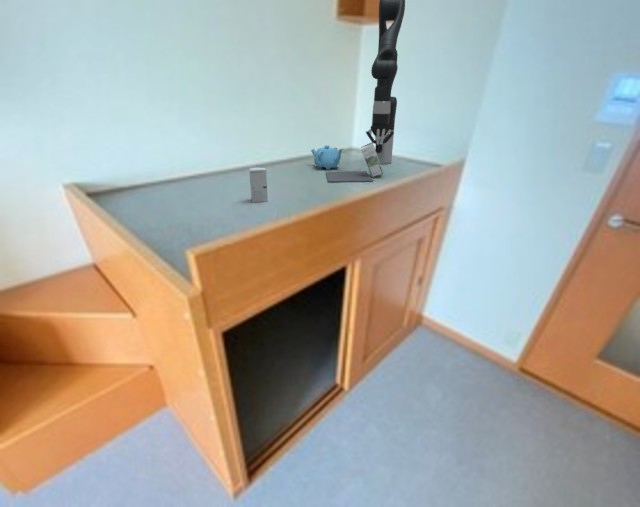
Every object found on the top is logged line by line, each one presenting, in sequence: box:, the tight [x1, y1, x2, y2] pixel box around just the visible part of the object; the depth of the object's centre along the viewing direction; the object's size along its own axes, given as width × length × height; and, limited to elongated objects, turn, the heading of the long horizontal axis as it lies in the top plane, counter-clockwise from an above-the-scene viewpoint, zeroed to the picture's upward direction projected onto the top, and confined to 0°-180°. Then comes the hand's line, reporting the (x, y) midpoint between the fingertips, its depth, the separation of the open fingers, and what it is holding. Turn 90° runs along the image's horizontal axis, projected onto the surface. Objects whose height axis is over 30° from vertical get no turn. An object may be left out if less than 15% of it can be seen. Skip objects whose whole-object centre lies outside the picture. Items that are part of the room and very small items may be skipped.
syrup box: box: [360, 141, 384, 179], centre depth 162 cm, size 6×6×14 cm
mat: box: [325, 170, 374, 184], centre depth 165 cm, size 18×20×1 cm
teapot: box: [310, 144, 344, 171], centre depth 180 cm, size 15×14×11 cm
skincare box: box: [248, 166, 269, 203], centre depth 131 cm, size 6×4×12 cm
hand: (378, 152), depth 161 cm, fingers closed
